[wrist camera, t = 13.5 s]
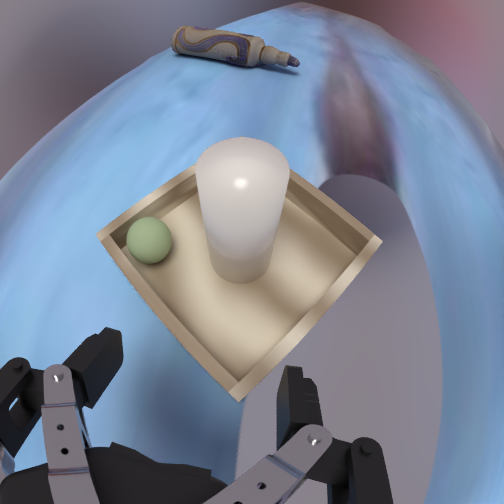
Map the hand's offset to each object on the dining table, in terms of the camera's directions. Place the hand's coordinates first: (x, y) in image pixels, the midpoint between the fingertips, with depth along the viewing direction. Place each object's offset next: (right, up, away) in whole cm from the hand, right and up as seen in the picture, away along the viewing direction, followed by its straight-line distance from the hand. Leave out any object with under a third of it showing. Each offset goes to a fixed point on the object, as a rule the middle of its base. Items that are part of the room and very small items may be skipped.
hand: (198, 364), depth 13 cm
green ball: (-6, +5, +13) cm, 15 cm away
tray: (+1, +5, +14) cm, 15 cm away
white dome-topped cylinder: (+1, +5, +13) cm, 14 cm away
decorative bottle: (-2, +41, +34) cm, 53 cm away
